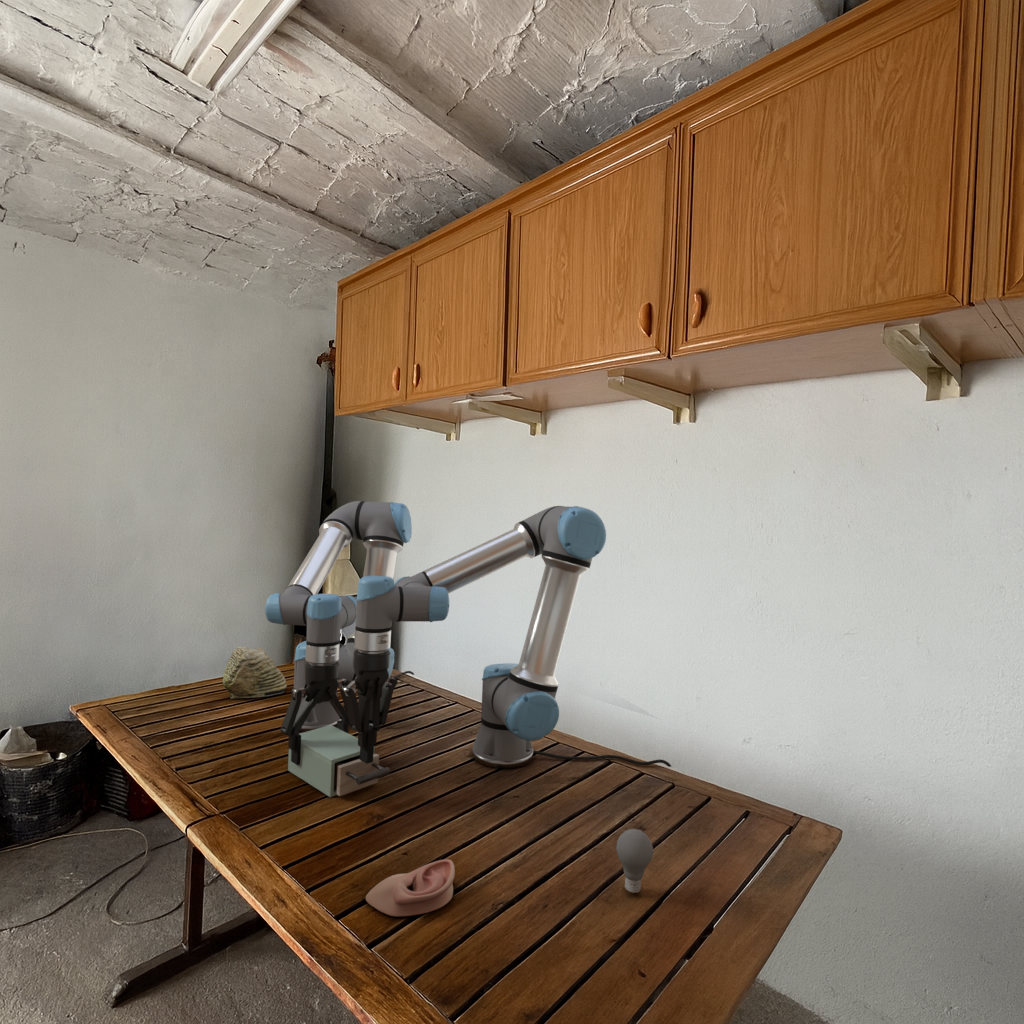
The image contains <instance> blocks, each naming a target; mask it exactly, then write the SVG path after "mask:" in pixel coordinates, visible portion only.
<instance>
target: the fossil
mask: <svg viewBox="0 0 1024 1024" xmlns="http://www.w3.org/2000/svg"><path fill="white" fill-rule="evenodd" d="M222 676H223V677H222V685H223V687H224V688H225V690H226V691H228V693H229V698H230V699H250V698H264V697H271V696H275V695H281V694H284V693H285V691H286V689H287V687H288V686H287V680H286V678H285V676H284V674H283V673H282V672H281V669H279V668H278V667H277V665H276V663H275V662H274V660H273V659H272V658H271V657H270V656H269V655H268V654H267V653H266V652H265V650H264V649H263V648H260V647H258V648H251V647H247V646H246V647H245V646H238V647H237V648H236V649H235V650H233V651H232V653H231V656H230V657H229V659H228V660H227V663H226V666H225V668H224V671H223V675H222Z"/></svg>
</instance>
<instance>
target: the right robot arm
mask: <svg viewBox="0 0 1024 1024" xmlns="http://www.w3.org/2000/svg"><path fill="white" fill-rule="evenodd" d="M606 541H607V529H606V526H605V523H604V521H603V520H602V518H601V517H600V515H598V514H597V512H595V511H593V510H591V509H589V508H586V507H583V506H578V505H574V506H565V505H554V506H551V507H547V508H545V509H543V510H540V511H538V512H537V513H534V514H533V515H531V516H528V517H527V518H524V519H523V520H521V521H518V522H516V523H515V524H514V526H513V529H511V530H509V531H506V532H504V533H502V534H500V535H498V536H496V537H494V538H491V539H489V540H487V541H485V542H483V543H481V544H479V545H476V546H474V547H472V548H470V549H468V550H466V551H463V552H461V553H459V554H456V555H455V556H453V557H450V558H448V559H447V560H444V561H442V562H440V563H438V564H435V565H433V566H431V567H429V568H427V569H424V570H423V571H421V572H418V573H416V574H413V575H412V576H402V577H399V578H398V579H396V581H395V579H394V577H393V578H391V577H387V576H365V577H363V576H362V577H360V579H359V580H358V582H357V593H356V598H355V599H357V600H356V621H355V625H354V630H355V638H354V648H355V649H356V650H355V651H354V659H353V668H354V675H353V677H352V682H351V683H350V684H349V685H348V686H343V687H342V688H341V690H342V692H343V694H344V696H345V699H346V705H347V711H348V717H349V728H350V729H351V730H353V731H354V732H355V731H356V732H357V738H358V746H360V760H361V761H363V762H365V763H367V764H368V763H371V762H373V752H374V753H375V750H374V747H375V745H376V744H377V743H378V742H377V740H378V732H379V731H381V729H382V727H381V726H385V725H386V723H387V719H388V715H389V711H390V706H391V702H392V699H393V693H394V691H395V688H396V687H397V684H399V683H398V682H399V681H398V678H392V677H393V676H389V672H388V668H389V665H390V652H389V650H388V649H389V648H391V644H392V643H391V642H392V626H393V625H392V624H393V622H395V623H400V622H429V623H433V622H443V621H445V620H446V619H447V618H448V615H449V612H450V595H449V594H451V593H453V592H455V591H458V590H460V589H462V588H464V587H466V586H467V585H470V584H473V583H474V582H477V581H479V580H480V579H482V578H484V577H487V576H489V575H492V574H493V573H495V572H497V571H499V570H501V569H504V568H506V567H507V566H510V565H512V564H514V563H516V562H518V561H520V560H522V559H524V558H526V557H527V558H529V559H534V558H536V557H538V556H540V555H541V559H542V560H543V563H544V565H545V566H544V569H543V573H542V577H541V580H540V584H539V588H538V592H537V596H536V599H535V602H534V603H535V604H534V607H533V610H532V614H531V618H530V621H529V625H528V629H527V633H526V637H525V640H524V644H523V648H522V650H521V654H520V659H519V662H518V663H511V662H508V663H506V662H505V663H494V664H489V665H485V667H484V668H483V673H482V678H481V681H482V685H481V687H482V688H481V712H480V718H481V720H480V725H479V728H478V731H477V734H476V737H475V740H474V742H473V745H472V754H471V755H472V756H471V757H472V758H473V760H474V761H476V762H477V763H479V764H481V765H484V766H487V767H490V768H496V769H516V768H520V767H523V766H527V765H529V764H530V763H531V762H532V761H533V758H534V755H539V756H543V757H548V758H549V757H550V758H554V759H559V760H567V761H593V760H601V759H615V760H621V761H624V762H627V763H631V764H635V765H639V766H650V765H654V764H664V765H665V766H667V767H669V768H671V767H672V764H671V763H670V762H669V761H667V760H665V759H654V760H649V761H639V760H636V759H635V760H634V759H631V758H627V757H625V756H621V755H617V754H601V755H592V756H569V755H558V754H554V753H550V752H545V751H538V750H534V747H533V743H532V742H534V741H538V740H541V739H543V738H545V737H546V736H548V735H549V734H550V733H551V732H552V731H554V729H555V728H556V726H557V724H558V722H559V718H560V707H559V705H558V702H557V700H556V696H557V693H558V688H559V681H558V680H557V678H556V670H557V666H558V662H559V659H560V655H561V651H562V647H563V644H564V640H565V637H566V632H567V629H568V625H569V621H570V618H571V614H572V610H573V606H574V603H575V599H576V596H577V591H578V588H579V584H580V580H581V577H582V575H583V574H584V573H586V572H588V571H590V568H591V565H592V561H593V558H595V557H597V555H599V554H600V553H601V552H602V551H603V549H604V547H605V545H606ZM355 688H356V689H355ZM356 694H357V695H356ZM358 702H359V704H358Z"/></svg>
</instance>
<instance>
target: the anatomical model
mask: <svg viewBox="0 0 1024 1024" xmlns="http://www.w3.org/2000/svg"><path fill="white" fill-rule="evenodd" d="M455 875H456V870H455V863H454V862H453V861H452V860H451V859H448V858H446V859H439V860H436V861H432V862H430V863H426V864H425V865H422V866H420V867H418V868H416V869H414V870H412V871H410V872H408V873H396V874H392V875H390V876H388V877H386V878H384V879H382V880H381V881H380V882H378V883H377V884H376V885H375V886H374V887H372V888H371V889H370V890H369V891H368V893H367V894H366V895H365V901H366V902H367V903H368V905H370V906H371V907H373V908H374V909H375V910H376V911H379V912H380V913H382V914H385V915H387V916H390V917H399V918H400V917H410V916H417V915H422V914H427V913H430V912H434V911H436V910H438V909H441V908H442V907H444V906H445V905H447V904H448V903H449V902H451V900H452V898H453V895H454V885H453V883H454V880H455Z"/></svg>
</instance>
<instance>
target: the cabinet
mask: <svg viewBox="0 0 1024 1024" xmlns="http://www.w3.org/2000/svg"><path fill="white" fill-rule="evenodd" d="M299 734H300V735H301V753H300V764H299V765H296V764H295V763H293V762H291V749H289V748H288V758H287V759H288V760H287V771H288V772H290V773H291V774H293V775H295V776H296V777H297V778H299V779H301V780H302V781H304V782H305V783H306V784H309V785H310V786H312V787H313V788H314V789H317V790H318V791H320V792H321V793H323V794H324V795H326V796H327V797H329V798H332V797H335V796H338V795H337V790H336V789H334V770H335V763H336V762H339V761H342V760H346V759H349V758H352V757H355V756H358V755H360V746H358V737H356V736H354V735H352V734H350V733H349V732H348V733H346V732H344V731H342V730H340V729H338V728H337V727H334V726H332V725H330V726H326V727H322V728H319V729H315V730H311V731H307V732H299ZM375 748H376V747H375V746H374V752H373V754H375V750H376V749H375Z"/></svg>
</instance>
